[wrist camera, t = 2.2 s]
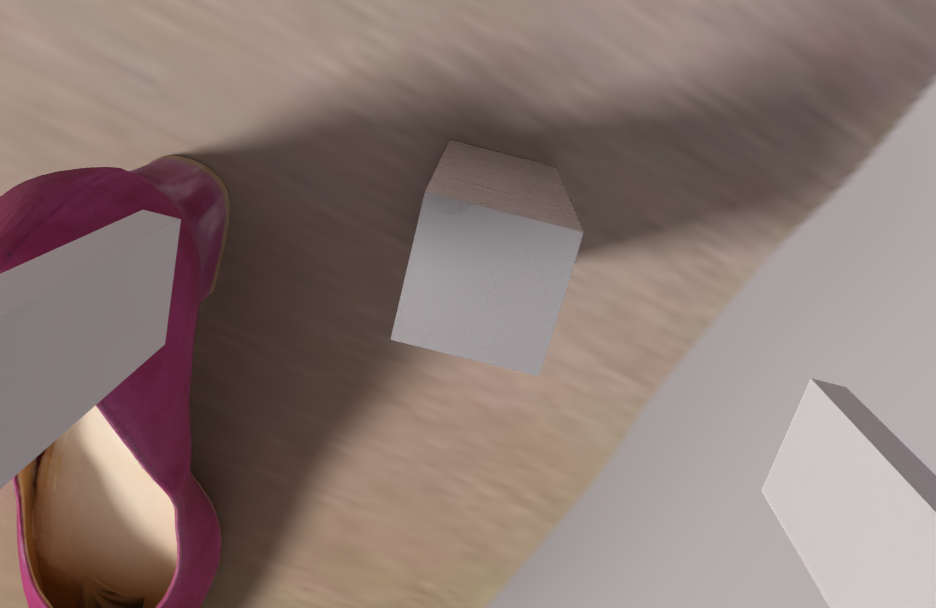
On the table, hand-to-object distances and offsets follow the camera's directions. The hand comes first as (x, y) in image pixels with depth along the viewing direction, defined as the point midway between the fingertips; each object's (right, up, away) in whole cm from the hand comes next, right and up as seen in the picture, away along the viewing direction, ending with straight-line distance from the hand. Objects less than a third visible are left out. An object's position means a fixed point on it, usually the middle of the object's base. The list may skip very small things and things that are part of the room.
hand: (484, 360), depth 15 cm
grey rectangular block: (0, +5, +13) cm, 14 cm away
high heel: (-14, -4, +17) cm, 22 cm away
